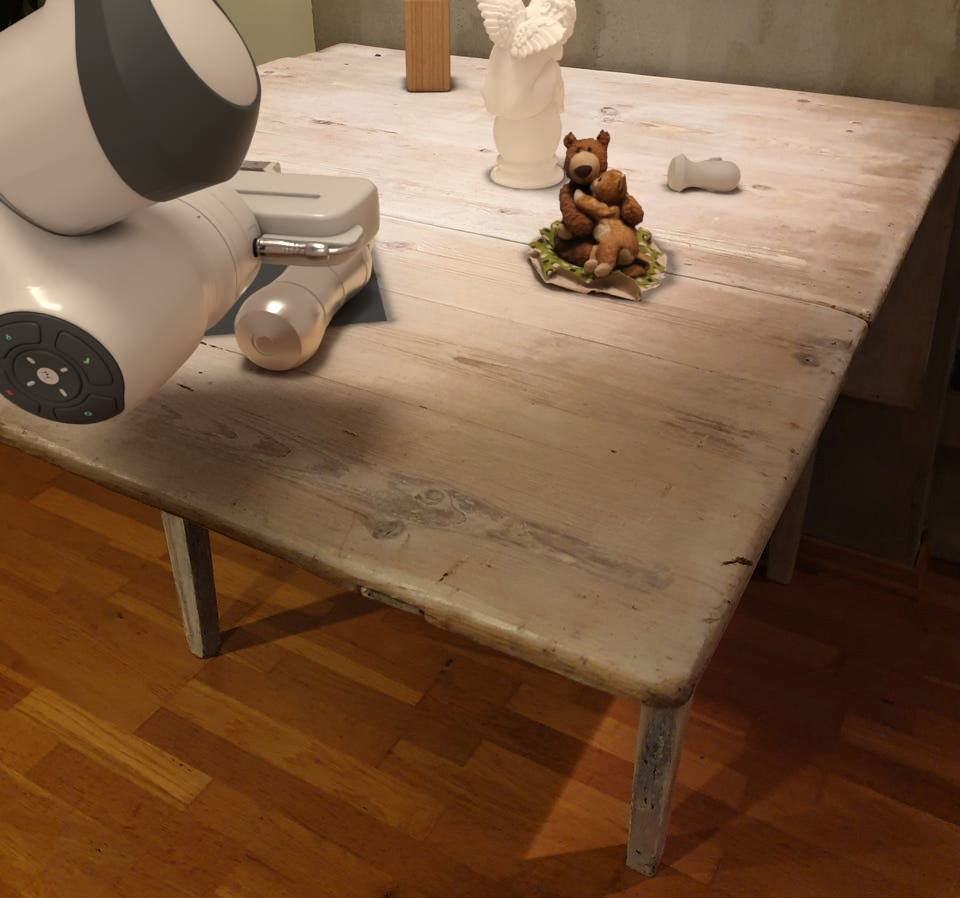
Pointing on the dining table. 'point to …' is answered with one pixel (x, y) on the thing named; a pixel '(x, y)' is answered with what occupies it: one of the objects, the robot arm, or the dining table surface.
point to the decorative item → (427, 45)
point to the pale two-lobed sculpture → (703, 174)
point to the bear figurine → (597, 229)
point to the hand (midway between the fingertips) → (261, 171)
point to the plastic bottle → (297, 311)
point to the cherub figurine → (526, 87)
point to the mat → (354, 311)
